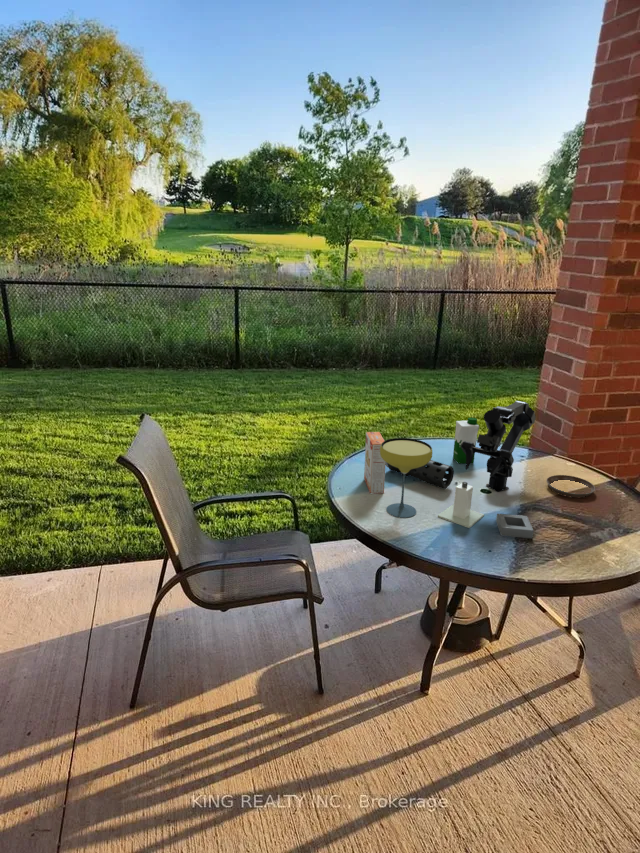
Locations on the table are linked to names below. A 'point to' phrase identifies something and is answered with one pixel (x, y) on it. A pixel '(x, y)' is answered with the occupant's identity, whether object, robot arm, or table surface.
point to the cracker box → (374, 463)
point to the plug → (462, 500)
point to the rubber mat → (465, 522)
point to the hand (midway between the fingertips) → (478, 472)
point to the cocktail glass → (405, 465)
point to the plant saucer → (571, 478)
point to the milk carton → (464, 438)
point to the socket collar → (520, 528)
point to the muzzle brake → (430, 473)
